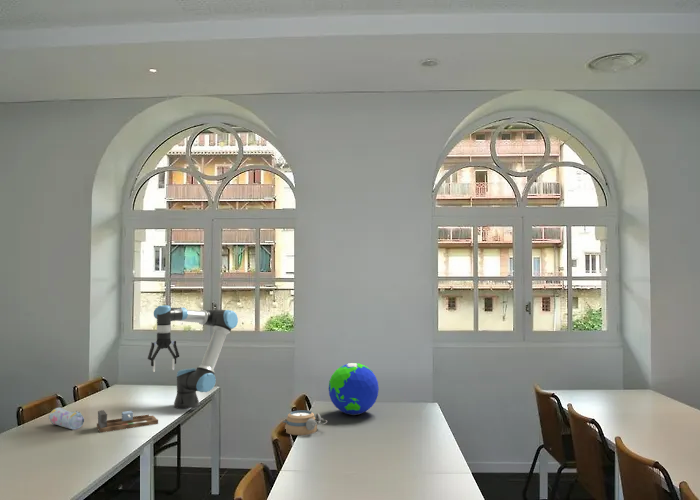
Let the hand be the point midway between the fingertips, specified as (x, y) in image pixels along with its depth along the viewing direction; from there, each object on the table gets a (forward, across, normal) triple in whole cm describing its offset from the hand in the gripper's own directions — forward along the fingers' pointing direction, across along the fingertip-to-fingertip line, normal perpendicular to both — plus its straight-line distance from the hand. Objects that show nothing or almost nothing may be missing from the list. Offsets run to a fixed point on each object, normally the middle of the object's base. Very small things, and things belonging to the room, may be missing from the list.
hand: (163, 370), depth 325 cm
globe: (+28, -97, +52) cm, 114 cm away
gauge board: (+28, +20, +2) cm, 34 cm away
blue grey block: (+25, +20, +4) cm, 33 cm away
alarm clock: (+28, -58, +66) cm, 92 cm away
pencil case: (+28, +49, -15) cm, 58 cm away
